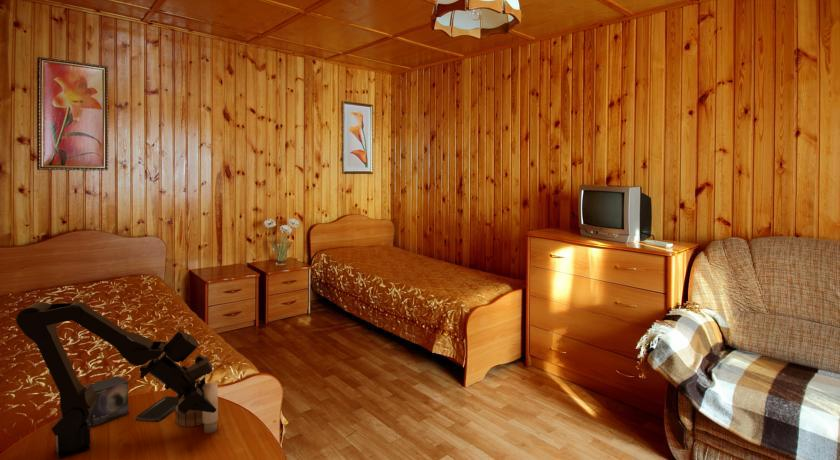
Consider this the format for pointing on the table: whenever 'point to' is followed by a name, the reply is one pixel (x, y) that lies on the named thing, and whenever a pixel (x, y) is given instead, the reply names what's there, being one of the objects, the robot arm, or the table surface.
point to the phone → (159, 410)
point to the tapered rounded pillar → (212, 397)
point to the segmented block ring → (188, 418)
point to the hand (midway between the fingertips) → (215, 407)
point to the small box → (109, 400)
